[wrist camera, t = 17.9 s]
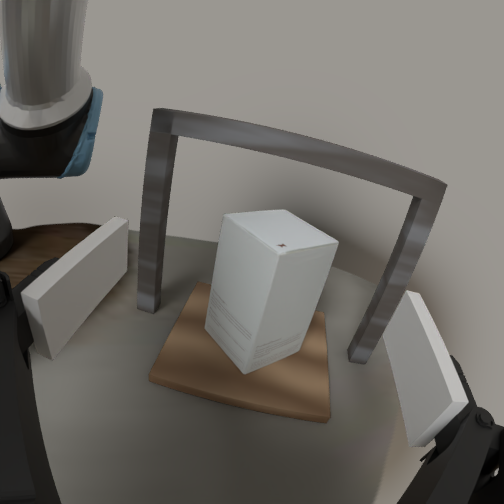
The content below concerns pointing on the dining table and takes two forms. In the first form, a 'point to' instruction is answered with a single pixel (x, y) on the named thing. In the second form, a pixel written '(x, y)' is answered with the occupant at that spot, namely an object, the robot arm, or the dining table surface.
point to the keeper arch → (195, 310)
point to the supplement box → (266, 285)
